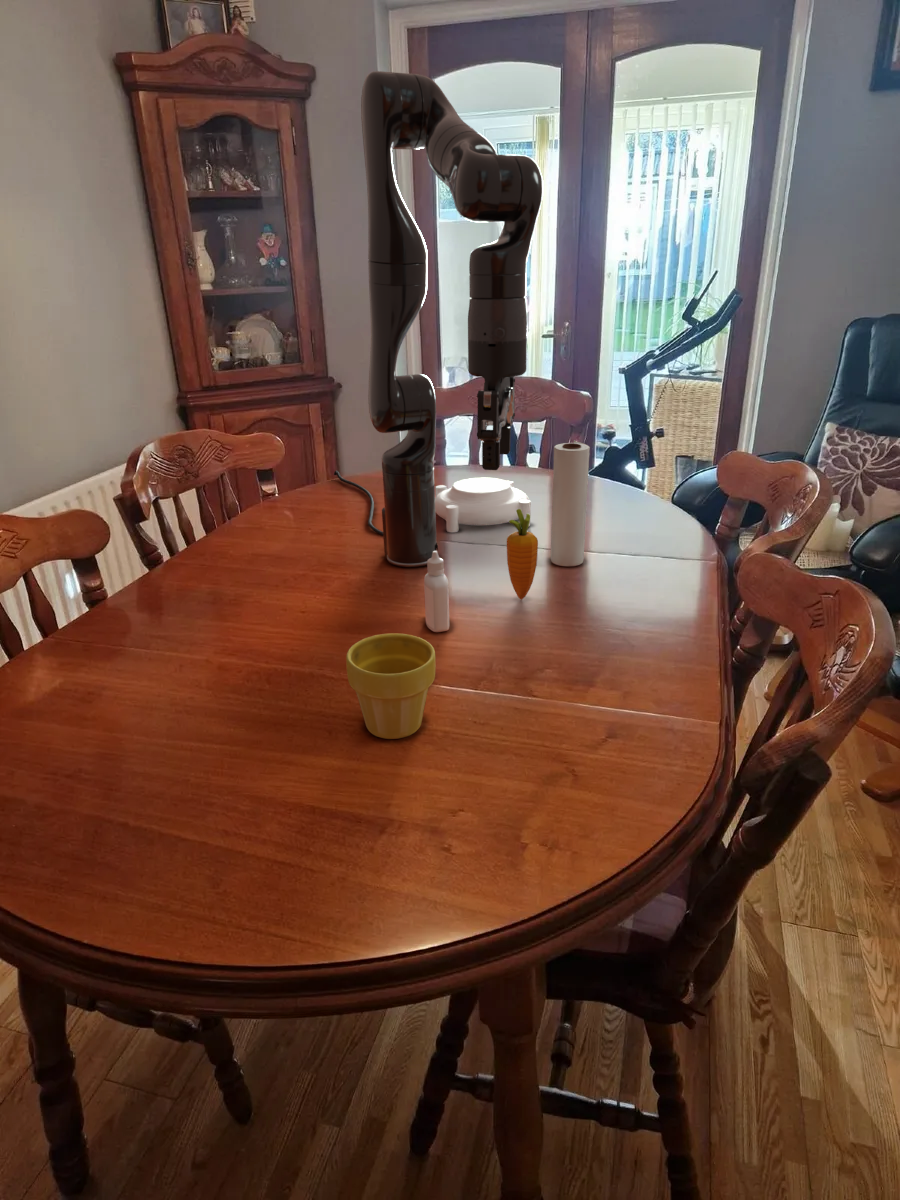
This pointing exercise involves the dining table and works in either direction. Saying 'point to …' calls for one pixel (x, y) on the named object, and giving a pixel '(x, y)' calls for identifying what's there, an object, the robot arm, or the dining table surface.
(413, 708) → the flower pot
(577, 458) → the paper towel roll
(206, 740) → the dining table surface
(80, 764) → the dining table surface
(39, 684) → the dining table surface
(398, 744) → the dining table surface
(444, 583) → the eye dropper bottle
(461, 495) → the round stand with pegs
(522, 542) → the carrot
